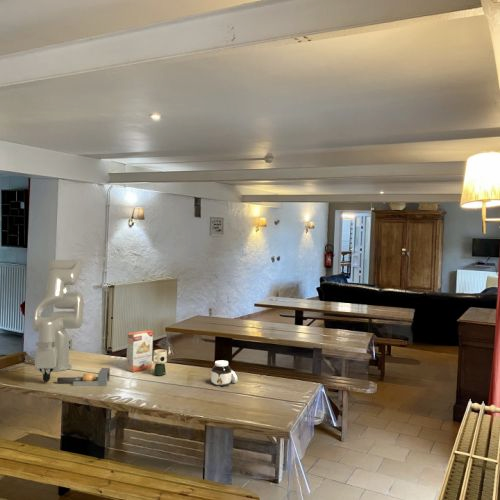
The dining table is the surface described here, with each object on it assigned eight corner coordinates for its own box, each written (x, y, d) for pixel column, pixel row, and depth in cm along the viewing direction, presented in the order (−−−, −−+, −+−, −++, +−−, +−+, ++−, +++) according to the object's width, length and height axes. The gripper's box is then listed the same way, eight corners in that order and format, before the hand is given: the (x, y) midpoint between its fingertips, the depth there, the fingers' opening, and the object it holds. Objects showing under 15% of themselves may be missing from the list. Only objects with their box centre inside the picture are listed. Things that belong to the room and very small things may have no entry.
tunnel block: (72, 385, 240) (73, 373, 240) (77, 379, 250) (77, 368, 250) (106, 385, 242) (106, 373, 242) (109, 379, 252) (109, 367, 251)
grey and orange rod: (56, 384, 242) (56, 375, 242) (59, 381, 246) (59, 373, 246) (95, 384, 244) (95, 375, 244) (97, 381, 248) (97, 372, 248)
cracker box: (133, 372, 265) (133, 334, 264) (125, 370, 268) (126, 333, 268) (152, 367, 276) (153, 331, 275) (145, 365, 279) (146, 329, 279)
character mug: (158, 378, 256) (159, 353, 256) (148, 376, 259) (148, 352, 259) (171, 373, 266) (171, 349, 265) (160, 371, 269) (161, 347, 268)
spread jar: (208, 385, 247) (209, 362, 247) (220, 379, 257) (220, 357, 257) (229, 389, 242) (229, 365, 241) (240, 383, 252) (240, 360, 251)
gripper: (28, 346, 238) (28, 383, 239) (60, 346, 240) (59, 383, 240) (33, 343, 246) (33, 379, 246) (64, 343, 247) (64, 379, 248)
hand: (46, 381), depth 243 cm, fingers closed
